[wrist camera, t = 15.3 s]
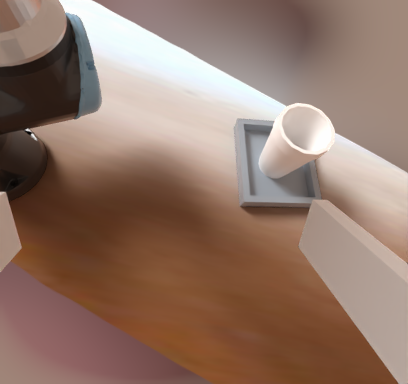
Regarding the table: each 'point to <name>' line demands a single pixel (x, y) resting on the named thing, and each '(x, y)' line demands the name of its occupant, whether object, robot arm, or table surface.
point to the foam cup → (296, 140)
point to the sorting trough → (263, 185)
